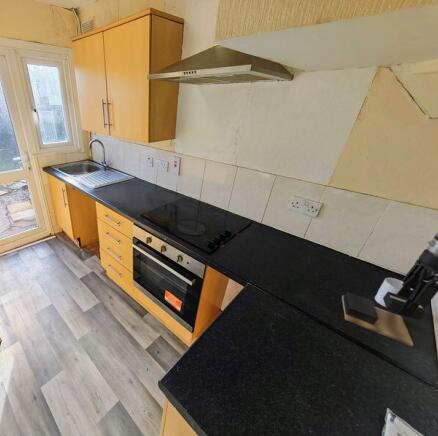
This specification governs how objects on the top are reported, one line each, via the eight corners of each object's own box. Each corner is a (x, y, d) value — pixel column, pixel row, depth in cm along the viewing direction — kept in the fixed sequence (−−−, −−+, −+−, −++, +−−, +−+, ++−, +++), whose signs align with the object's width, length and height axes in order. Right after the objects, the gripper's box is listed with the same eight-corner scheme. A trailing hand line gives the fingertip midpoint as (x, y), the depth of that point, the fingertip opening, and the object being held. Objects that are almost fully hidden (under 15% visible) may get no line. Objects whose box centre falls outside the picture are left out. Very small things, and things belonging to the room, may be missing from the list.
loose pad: (412, 308, 80) (418, 301, 78) (418, 320, 75) (425, 312, 74) (382, 298, 84) (388, 291, 82) (386, 308, 79) (392, 301, 77)
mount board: (400, 318, 86) (406, 309, 84) (412, 346, 75) (420, 338, 73) (341, 296, 95) (346, 288, 93) (345, 319, 84) (350, 311, 82)
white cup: (402, 307, 91) (417, 289, 86) (392, 312, 88) (406, 294, 84) (379, 293, 97) (391, 275, 93) (368, 298, 95) (380, 280, 90)
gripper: (415, 237, 78) (380, 287, 88) (438, 265, 63) (392, 321, 74) (447, 245, 74) (406, 296, 85) (479, 277, 60) (425, 333, 70)
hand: (400, 308), depth 79 cm, fingers closed on loose pad, 6 cm apart
